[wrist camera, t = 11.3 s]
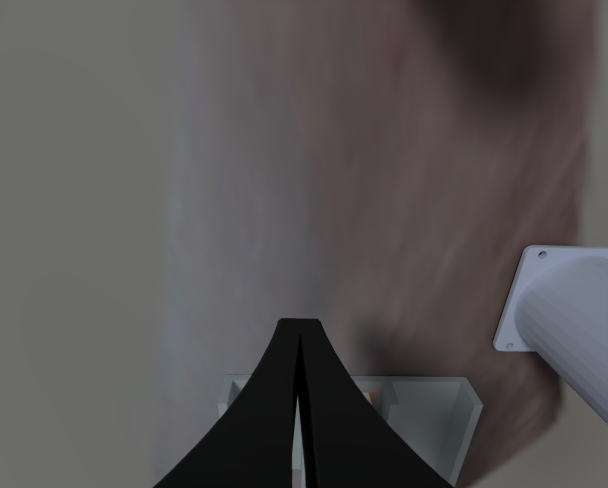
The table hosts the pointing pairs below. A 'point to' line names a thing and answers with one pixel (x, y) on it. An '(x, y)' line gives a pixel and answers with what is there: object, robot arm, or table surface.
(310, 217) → the table surface
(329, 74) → the table surface
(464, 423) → the rack
